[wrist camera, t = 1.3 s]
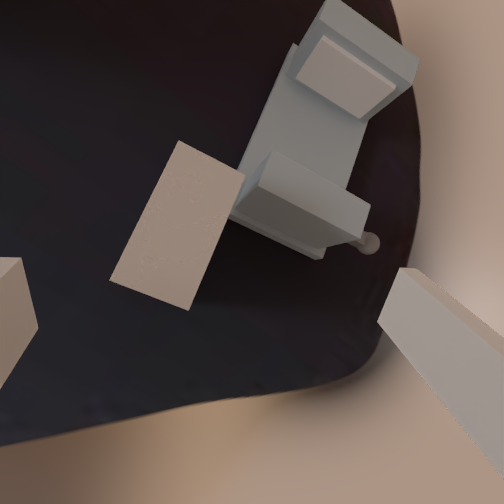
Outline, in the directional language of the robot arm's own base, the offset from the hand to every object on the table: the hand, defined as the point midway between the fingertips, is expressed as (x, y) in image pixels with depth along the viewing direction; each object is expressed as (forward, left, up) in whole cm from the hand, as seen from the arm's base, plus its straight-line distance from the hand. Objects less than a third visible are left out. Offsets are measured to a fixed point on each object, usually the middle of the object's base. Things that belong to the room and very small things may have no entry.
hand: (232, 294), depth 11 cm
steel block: (-3, +3, -17) cm, 17 cm away
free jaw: (+7, +10, -15) cm, 19 cm away
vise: (+5, +18, -17) cm, 25 cm away
